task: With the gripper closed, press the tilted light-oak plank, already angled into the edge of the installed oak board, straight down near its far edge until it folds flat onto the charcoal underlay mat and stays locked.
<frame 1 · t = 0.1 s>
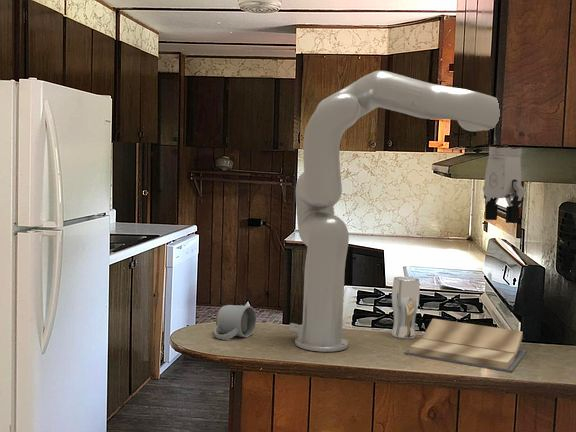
hand: (501, 221, 164), 31 cm above the counter, tool pointing down, fingers open, 9 cm apart
beer glass: (403, 336, 170), on the counter
loose plank: (471, 337, 159), point 3 cm above the counter, hinge at 22.0°
ceramic mug: (233, 336, 163), on the counter
installed board: (461, 357, 151), resting on underlay mat
underlay mat: (466, 353, 155), on the counter
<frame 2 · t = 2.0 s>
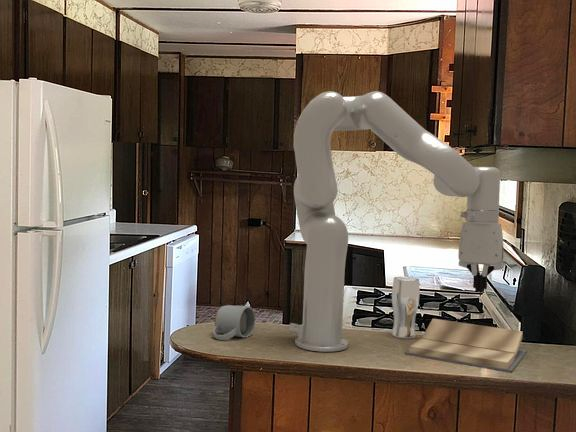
hand: (479, 291, 161), 14 cm above the counter, tool pointing down, fingers closed
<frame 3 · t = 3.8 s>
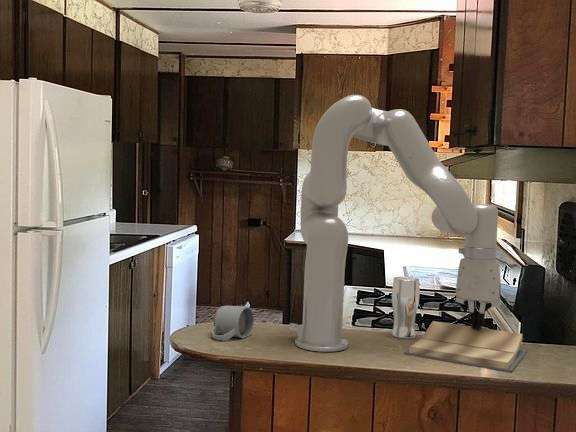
hand: (476, 327, 162), 5 cm above the counter, tool pointing down, fingers closed
loose plank: (471, 338, 159), point 3 cm above the counter, hinge at 17.4°, touching gripper
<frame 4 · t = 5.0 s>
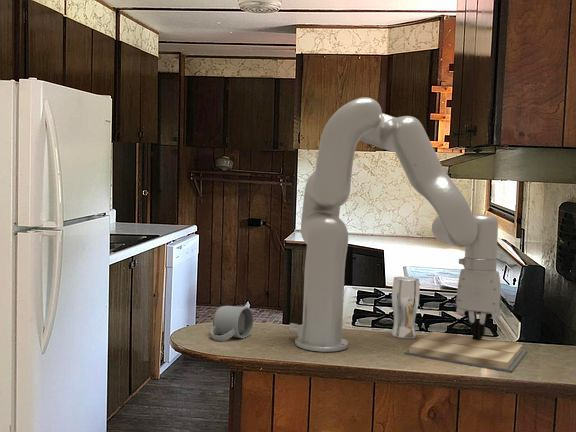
hand: (477, 338, 162), 2 cm above the counter, tool pointing down, fingers closed
loose plank: (471, 344, 159), point 1 cm above the counter, hinge at 0.0°, touching gripper, underlay mat
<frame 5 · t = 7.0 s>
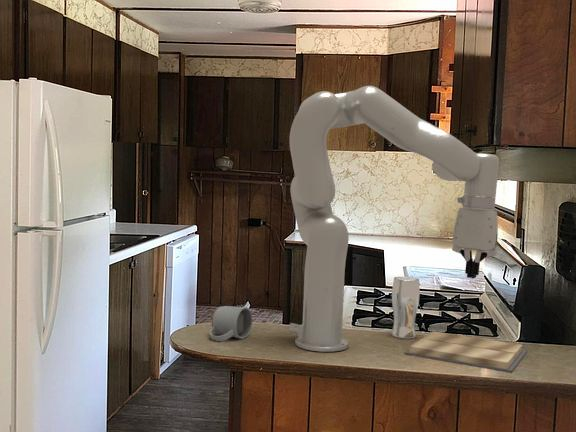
hand: (471, 277, 162), 17 cm above the counter, tool pointing down, fingers closed
loose plank: (471, 344, 159), point 1 cm above the counter, hinge at 0.0°, touching underlay mat
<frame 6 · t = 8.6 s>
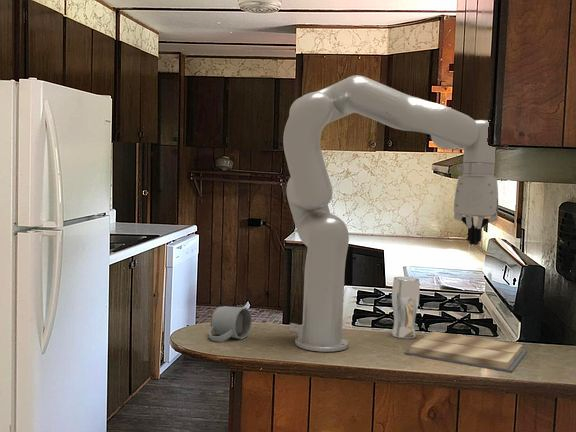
hand: (474, 244, 163), 25 cm above the counter, tool pointing down, fingers closed
at the end: loose plank at +0° (first picture: +22°); beer glass moved 0.2 cm from its start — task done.
